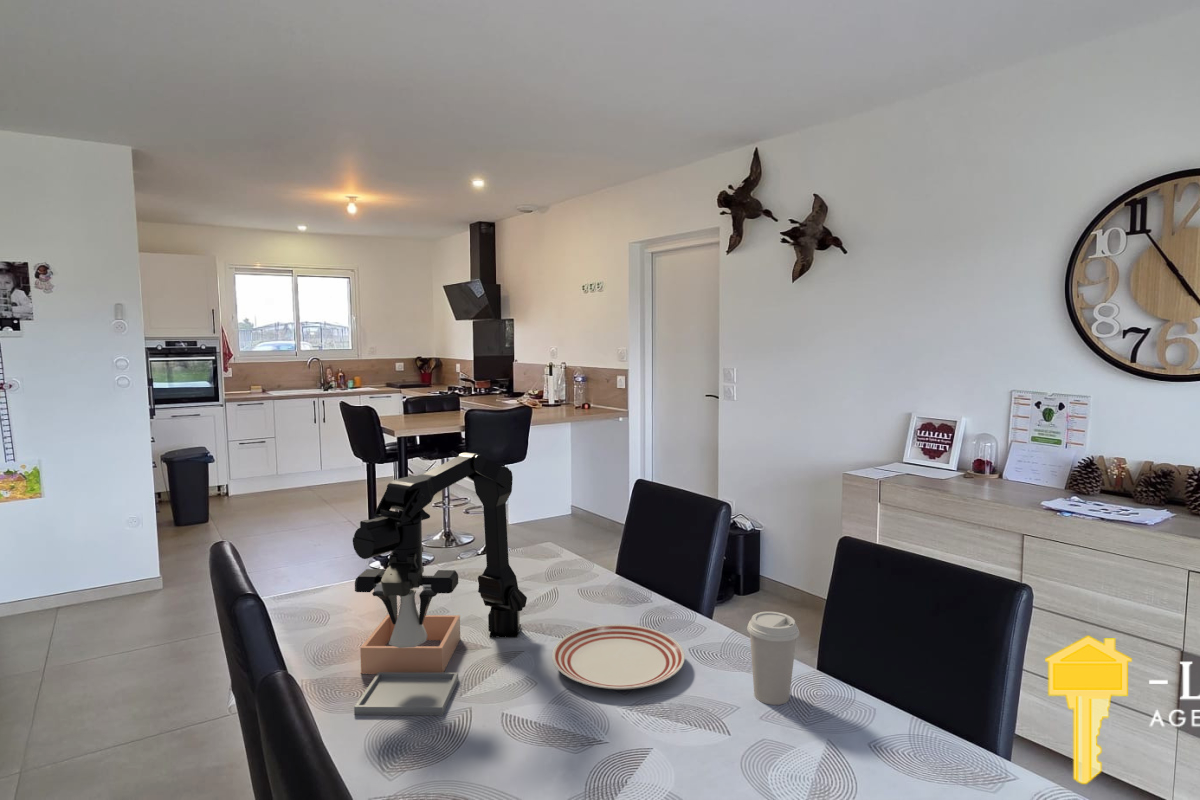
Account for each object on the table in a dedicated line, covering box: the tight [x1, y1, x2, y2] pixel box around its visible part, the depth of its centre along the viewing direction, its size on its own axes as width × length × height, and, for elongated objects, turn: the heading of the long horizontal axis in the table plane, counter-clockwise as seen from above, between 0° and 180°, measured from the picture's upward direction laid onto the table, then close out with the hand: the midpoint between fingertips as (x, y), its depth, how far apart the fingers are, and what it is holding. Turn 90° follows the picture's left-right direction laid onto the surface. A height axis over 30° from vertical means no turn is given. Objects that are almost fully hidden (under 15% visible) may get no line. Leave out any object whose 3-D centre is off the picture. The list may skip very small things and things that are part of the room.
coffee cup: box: [746, 611, 800, 706], centre depth 130 cm, size 10×10×15 cm
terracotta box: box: [359, 614, 461, 675], centre depth 147 cm, size 17×17×6 cm
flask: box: [388, 588, 428, 648], centre depth 134 cm, size 7×7×10 cm
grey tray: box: [353, 672, 459, 716], centre depth 131 cm, size 16×13×2 cm
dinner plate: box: [551, 623, 686, 690], centre depth 143 cm, size 28×27×3 cm
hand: (408, 623), depth 134 cm, fingers closed on flask, 5 cm apart
